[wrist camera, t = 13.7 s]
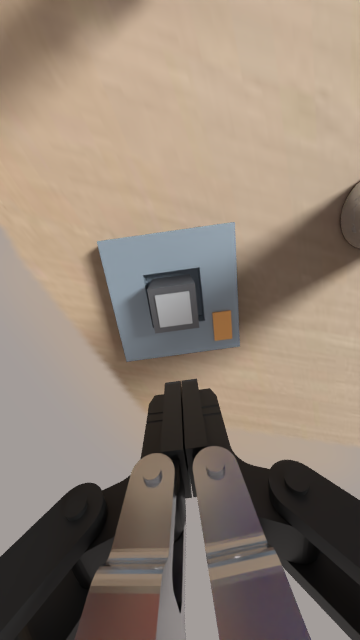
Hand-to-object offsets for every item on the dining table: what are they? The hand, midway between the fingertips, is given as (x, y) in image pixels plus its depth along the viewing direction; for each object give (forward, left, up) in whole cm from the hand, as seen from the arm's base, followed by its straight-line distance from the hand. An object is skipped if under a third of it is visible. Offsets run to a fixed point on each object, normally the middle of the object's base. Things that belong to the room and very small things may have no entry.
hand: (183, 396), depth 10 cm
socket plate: (0, 0, -21) cm, 21 cm away
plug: (0, 0, -21) cm, 21 cm away
